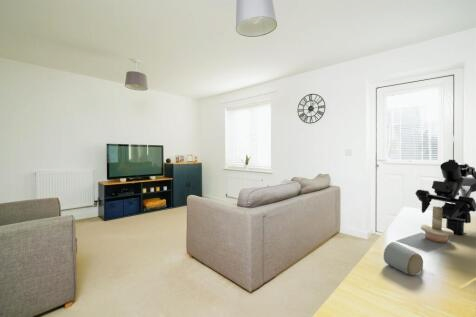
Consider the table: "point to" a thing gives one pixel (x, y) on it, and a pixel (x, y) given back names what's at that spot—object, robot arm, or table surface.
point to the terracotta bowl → (436, 237)
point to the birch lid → (437, 224)
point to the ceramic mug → (403, 258)
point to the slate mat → (422, 242)
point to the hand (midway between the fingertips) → (435, 215)
